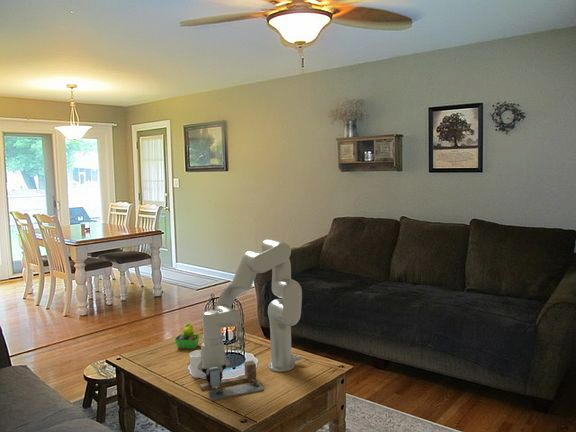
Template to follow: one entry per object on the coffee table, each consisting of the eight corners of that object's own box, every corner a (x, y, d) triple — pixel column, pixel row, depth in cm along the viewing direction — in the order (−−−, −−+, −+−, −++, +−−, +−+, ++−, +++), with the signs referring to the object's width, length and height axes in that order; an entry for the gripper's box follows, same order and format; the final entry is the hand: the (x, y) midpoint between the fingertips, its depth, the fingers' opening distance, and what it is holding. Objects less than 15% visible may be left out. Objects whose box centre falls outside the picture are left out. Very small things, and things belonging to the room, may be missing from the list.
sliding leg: (218, 382, 206) (217, 366, 205) (221, 389, 199) (221, 372, 199) (208, 384, 204) (208, 367, 203) (212, 391, 198) (211, 374, 197)
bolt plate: (258, 383, 205) (258, 381, 204) (263, 390, 198) (263, 388, 198) (207, 393, 197) (207, 391, 197) (211, 401, 190) (211, 398, 190)
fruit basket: (174, 348, 245) (173, 327, 244) (181, 342, 253) (180, 322, 252) (195, 349, 243) (194, 328, 242) (201, 343, 252) (200, 322, 250)
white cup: (204, 379, 210) (203, 357, 209) (187, 377, 211) (186, 356, 210) (210, 371, 217) (209, 350, 216) (194, 370, 219) (193, 349, 218)
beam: (253, 376, 211) (252, 360, 211) (258, 382, 205) (257, 366, 204) (199, 386, 203) (198, 369, 202) (202, 393, 197) (201, 376, 196)
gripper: (229, 334, 207) (231, 374, 209) (191, 340, 201) (193, 381, 203) (234, 340, 200) (235, 381, 202) (194, 346, 194) (196, 389, 196)
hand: (214, 381), depth 203 cm, fingers closed on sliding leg, 4 cm apart
